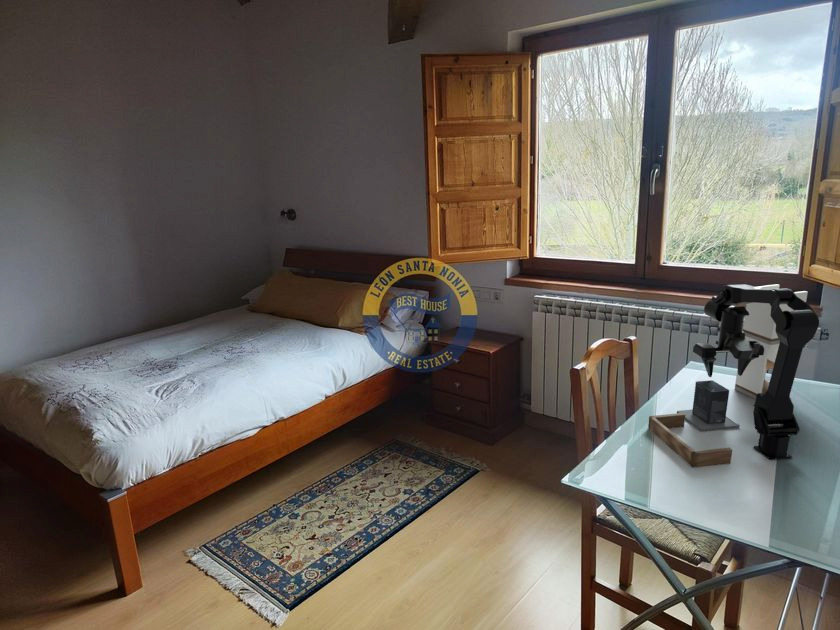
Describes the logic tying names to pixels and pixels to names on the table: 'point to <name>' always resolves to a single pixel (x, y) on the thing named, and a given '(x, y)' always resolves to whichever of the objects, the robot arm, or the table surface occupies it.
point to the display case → (763, 331)
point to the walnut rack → (693, 458)
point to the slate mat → (704, 426)
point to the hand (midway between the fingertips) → (724, 376)
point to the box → (710, 402)
